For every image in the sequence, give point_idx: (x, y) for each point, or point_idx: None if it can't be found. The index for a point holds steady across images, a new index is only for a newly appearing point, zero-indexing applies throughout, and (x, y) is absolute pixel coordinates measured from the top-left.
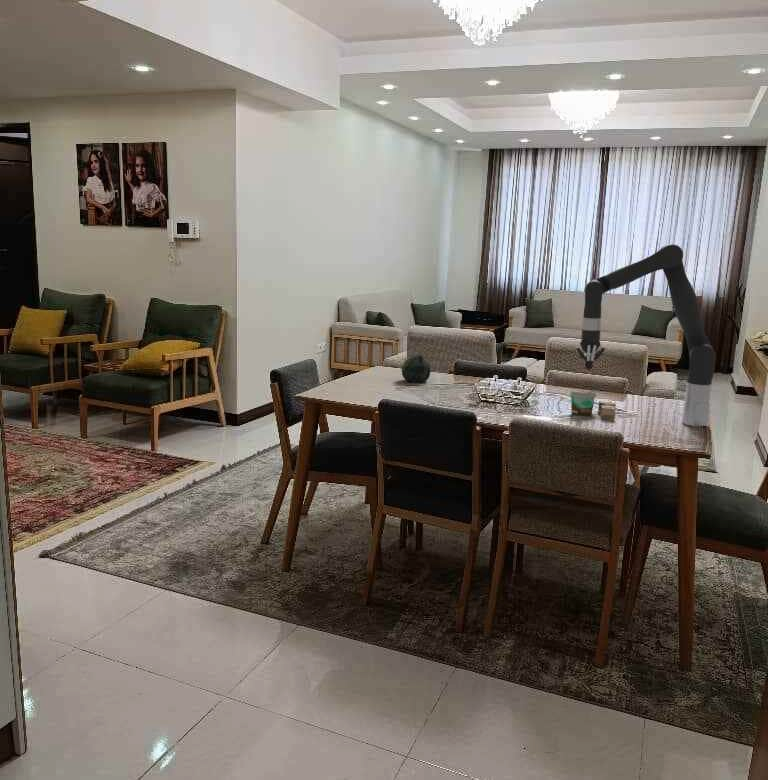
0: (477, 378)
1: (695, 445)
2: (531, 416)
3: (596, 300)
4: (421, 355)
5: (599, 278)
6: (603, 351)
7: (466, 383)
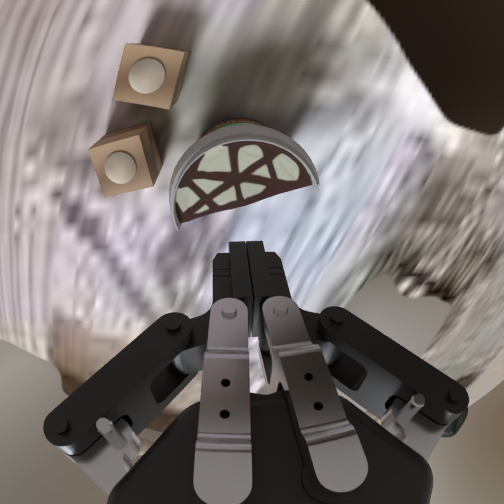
0: None
1: None
2: (442, 129)
3: None
4: (452, 434)
5: None
6: (68, 398)
7: None
